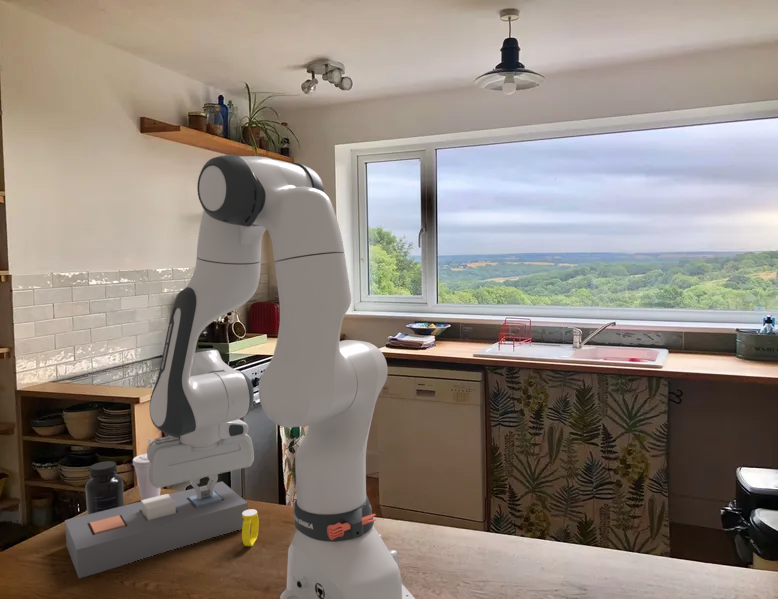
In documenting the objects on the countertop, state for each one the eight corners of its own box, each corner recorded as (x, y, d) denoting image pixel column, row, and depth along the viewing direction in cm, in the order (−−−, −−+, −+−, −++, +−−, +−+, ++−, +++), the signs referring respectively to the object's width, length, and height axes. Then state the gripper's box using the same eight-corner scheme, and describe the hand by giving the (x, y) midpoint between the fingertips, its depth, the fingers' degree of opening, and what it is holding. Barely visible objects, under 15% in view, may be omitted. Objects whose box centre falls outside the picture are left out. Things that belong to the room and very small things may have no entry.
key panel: (223, 503, 129) (222, 481, 129) (248, 527, 118) (247, 502, 117) (66, 546, 112) (64, 520, 111) (78, 578, 100) (76, 549, 100)
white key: (169, 515, 118) (167, 493, 118) (176, 524, 114) (175, 502, 114) (142, 522, 115) (141, 500, 115) (149, 532, 111) (147, 509, 111)
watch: (254, 551, 109) (252, 521, 108) (239, 551, 109) (236, 521, 108) (263, 533, 115) (261, 504, 114) (248, 533, 115) (247, 504, 114)
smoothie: (155, 507, 128) (151, 443, 127) (128, 505, 129) (124, 442, 128) (171, 495, 134) (168, 434, 133) (146, 493, 136) (142, 433, 134)
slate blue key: (214, 511, 123) (213, 490, 123) (222, 520, 119) (222, 498, 119) (189, 518, 120) (188, 497, 120) (197, 527, 116) (196, 505, 116)
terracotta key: (120, 537, 113) (119, 515, 113) (126, 548, 109) (125, 524, 108) (91, 545, 110) (89, 522, 110) (96, 556, 106) (94, 532, 106)
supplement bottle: (87, 520, 123) (83, 463, 122) (123, 512, 126) (120, 456, 125) (88, 533, 117) (84, 473, 116) (126, 525, 120) (123, 467, 119)
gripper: (150, 444, 110) (154, 517, 111) (255, 423, 122) (258, 489, 123) (142, 436, 115) (145, 505, 116) (243, 417, 127) (246, 480, 128)
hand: (204, 497), depth 120 cm, fingers closed, pressing on slate blue key
